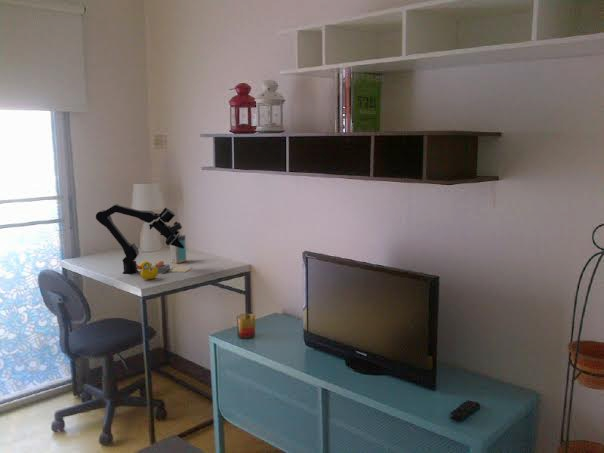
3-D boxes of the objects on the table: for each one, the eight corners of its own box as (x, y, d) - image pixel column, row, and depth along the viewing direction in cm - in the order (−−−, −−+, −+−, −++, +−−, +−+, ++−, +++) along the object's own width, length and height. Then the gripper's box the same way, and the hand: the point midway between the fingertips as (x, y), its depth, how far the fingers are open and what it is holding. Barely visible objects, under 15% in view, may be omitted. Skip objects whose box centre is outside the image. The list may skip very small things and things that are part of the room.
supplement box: (181, 260, 337) (180, 239, 335) (186, 261, 334) (185, 240, 332) (170, 263, 330) (169, 241, 328) (176, 264, 327) (175, 242, 325)
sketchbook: (167, 271, 309) (166, 271, 309) (174, 267, 319) (174, 266, 319) (185, 272, 307) (185, 271, 307) (192, 267, 317) (192, 267, 317)
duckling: (139, 282, 289) (137, 263, 287) (135, 280, 293) (134, 261, 292) (160, 278, 295) (158, 260, 293) (156, 276, 299) (155, 258, 298)
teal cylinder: (178, 259, 310) (176, 236, 307) (179, 258, 314) (177, 235, 311) (185, 259, 310) (184, 236, 308) (186, 257, 314) (185, 235, 312)
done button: (154, 268, 309) (154, 262, 309) (158, 266, 313) (157, 260, 313) (162, 268, 308) (161, 262, 308) (165, 266, 313) (164, 260, 312)
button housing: (150, 272, 308) (150, 267, 308) (156, 269, 316) (156, 264, 315) (163, 273, 307) (163, 267, 306) (169, 269, 314) (169, 264, 314)
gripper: (170, 220, 298) (192, 240, 301) (174, 215, 317) (195, 233, 319) (156, 235, 299) (178, 254, 302) (161, 229, 317) (182, 247, 320)
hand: (184, 247), depth 311 cm, fingers closed on teal cylinder, 4 cm apart
